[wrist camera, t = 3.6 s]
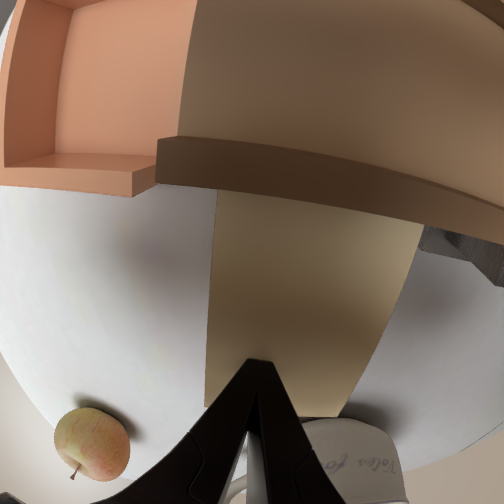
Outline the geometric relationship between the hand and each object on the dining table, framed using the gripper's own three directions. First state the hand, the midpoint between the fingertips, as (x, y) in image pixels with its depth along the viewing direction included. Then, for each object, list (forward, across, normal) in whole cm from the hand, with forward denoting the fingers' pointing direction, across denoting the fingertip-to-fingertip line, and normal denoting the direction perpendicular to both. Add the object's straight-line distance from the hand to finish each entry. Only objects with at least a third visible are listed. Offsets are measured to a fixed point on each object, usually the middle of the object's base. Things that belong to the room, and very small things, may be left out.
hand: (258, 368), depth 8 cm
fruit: (+6, +13, +19) cm, 24 cm away
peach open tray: (+6, +8, -9) cm, 13 cm away
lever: (+1, -8, -5) cm, 10 cm away
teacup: (+6, -5, +14) cm, 16 cm away
